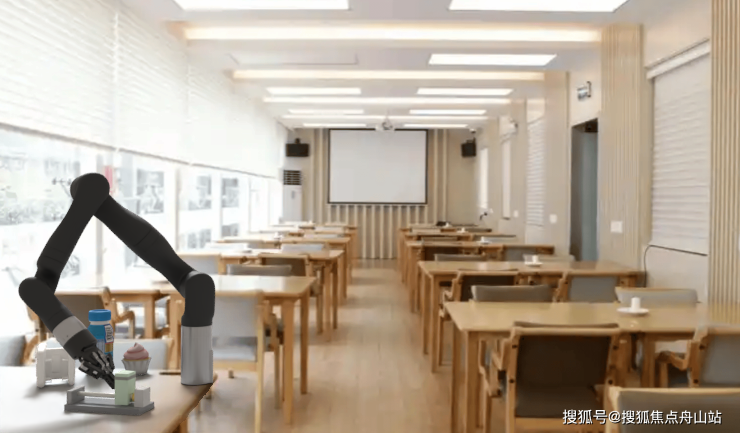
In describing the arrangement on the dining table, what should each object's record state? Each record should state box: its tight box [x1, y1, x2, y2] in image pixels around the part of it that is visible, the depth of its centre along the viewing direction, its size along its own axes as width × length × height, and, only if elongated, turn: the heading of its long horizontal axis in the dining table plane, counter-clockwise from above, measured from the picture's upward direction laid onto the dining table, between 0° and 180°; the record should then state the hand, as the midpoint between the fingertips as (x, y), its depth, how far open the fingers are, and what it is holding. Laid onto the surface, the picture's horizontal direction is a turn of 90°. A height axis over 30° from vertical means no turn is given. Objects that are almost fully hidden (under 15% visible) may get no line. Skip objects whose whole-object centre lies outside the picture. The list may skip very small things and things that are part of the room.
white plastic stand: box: [34, 342, 76, 389], centre depth 223 cm, size 15×11×12 cm
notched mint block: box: [114, 369, 137, 405], centre depth 194 cm, size 4×4×8 cm
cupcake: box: [120, 342, 152, 377], centre depth 237 cm, size 9×9×10 cm
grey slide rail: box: [63, 385, 155, 416], centre depth 195 cm, size 21×8×6 cm, turn 78°
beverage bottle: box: [86, 308, 115, 374], centre depth 236 cm, size 8×8×20 cm
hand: (117, 386), depth 195 cm, fingers closed
